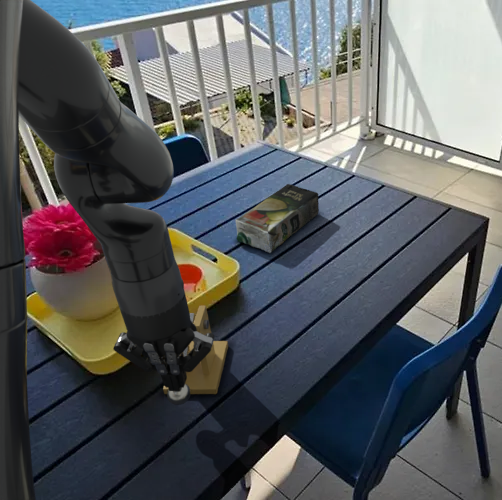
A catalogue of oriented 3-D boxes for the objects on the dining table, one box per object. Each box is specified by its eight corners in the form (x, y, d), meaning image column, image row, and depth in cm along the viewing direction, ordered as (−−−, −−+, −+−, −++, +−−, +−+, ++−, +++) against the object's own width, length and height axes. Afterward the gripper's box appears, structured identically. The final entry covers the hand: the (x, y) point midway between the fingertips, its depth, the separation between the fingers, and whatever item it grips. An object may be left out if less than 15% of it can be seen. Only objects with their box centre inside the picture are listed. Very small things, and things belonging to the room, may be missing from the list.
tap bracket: (216, 394, 77) (205, 340, 70) (164, 394, 76) (147, 340, 69) (228, 345, 85) (219, 293, 78) (181, 345, 84) (167, 292, 77)
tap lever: (191, 406, 72) (185, 403, 69) (169, 406, 72) (162, 403, 69) (202, 318, 77) (196, 312, 74) (181, 317, 77) (175, 312, 74)
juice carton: (269, 256, 105) (266, 232, 101) (233, 243, 109) (229, 219, 105) (320, 214, 119) (320, 192, 116) (287, 204, 123) (285, 181, 120)
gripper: (81, 314, 56) (119, 408, 67) (199, 314, 57) (219, 408, 67) (106, 272, 62) (138, 365, 73) (213, 273, 63) (229, 365, 73)
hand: (177, 386), depth 70 cm, fingers closed
